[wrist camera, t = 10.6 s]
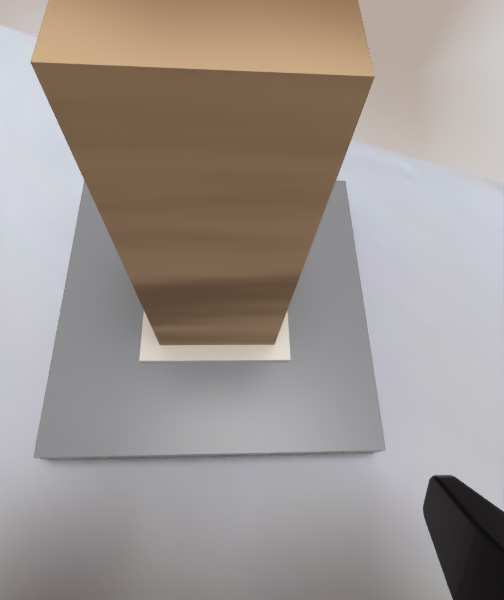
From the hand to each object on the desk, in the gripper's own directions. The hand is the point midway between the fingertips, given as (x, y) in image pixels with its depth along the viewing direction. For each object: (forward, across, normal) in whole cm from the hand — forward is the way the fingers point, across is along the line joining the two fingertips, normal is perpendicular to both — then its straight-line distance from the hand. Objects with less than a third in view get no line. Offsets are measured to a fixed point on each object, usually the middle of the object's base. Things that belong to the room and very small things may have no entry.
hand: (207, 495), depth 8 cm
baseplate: (+13, 0, +1) cm, 13 cm away
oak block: (+12, 0, 0) cm, 12 cm away
